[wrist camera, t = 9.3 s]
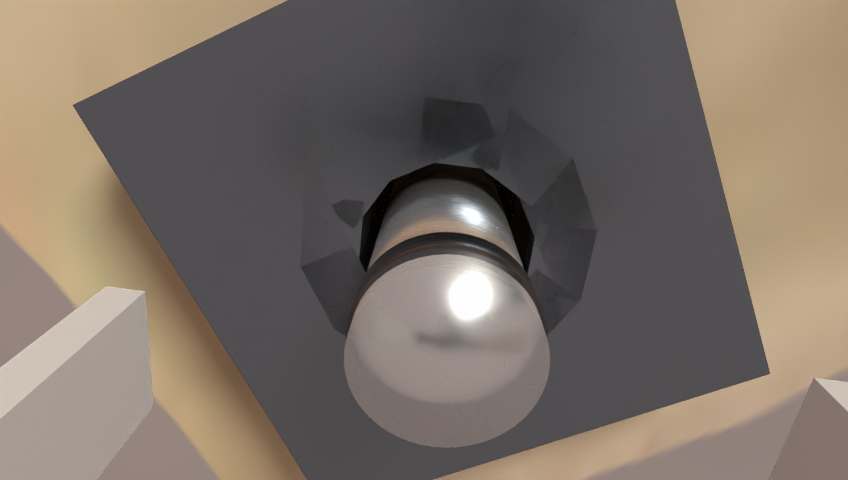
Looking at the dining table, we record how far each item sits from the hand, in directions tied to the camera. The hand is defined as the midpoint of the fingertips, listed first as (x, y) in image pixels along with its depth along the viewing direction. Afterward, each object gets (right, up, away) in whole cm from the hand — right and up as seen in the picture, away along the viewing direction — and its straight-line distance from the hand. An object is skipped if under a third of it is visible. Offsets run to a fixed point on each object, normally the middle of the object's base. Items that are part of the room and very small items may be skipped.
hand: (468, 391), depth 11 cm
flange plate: (0, +4, +13) cm, 13 cm away
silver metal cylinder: (0, +4, +13) cm, 13 cm away
